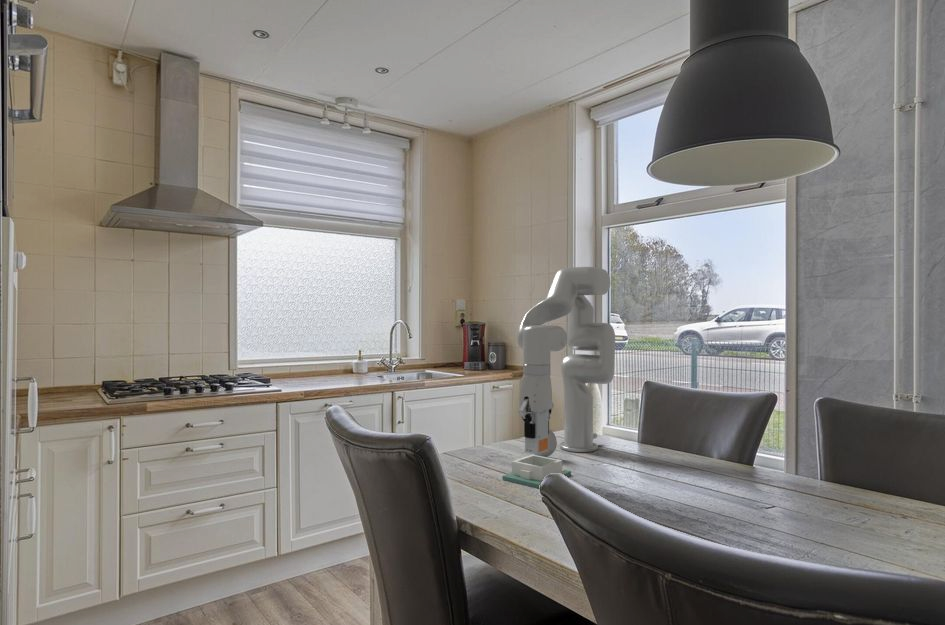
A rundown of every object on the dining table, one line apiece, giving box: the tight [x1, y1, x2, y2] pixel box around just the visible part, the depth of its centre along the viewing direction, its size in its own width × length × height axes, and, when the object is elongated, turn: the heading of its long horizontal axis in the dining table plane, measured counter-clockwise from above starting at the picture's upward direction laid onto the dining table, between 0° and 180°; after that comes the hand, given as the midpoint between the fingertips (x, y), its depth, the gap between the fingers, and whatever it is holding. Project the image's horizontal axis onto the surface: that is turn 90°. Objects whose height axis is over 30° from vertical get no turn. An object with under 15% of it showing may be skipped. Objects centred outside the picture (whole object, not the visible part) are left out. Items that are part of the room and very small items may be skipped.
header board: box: [502, 454, 572, 489], centre depth 152 cm, size 16×12×4 cm
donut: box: [533, 428, 558, 458], centre depth 173 cm, size 10×4×10 cm, turn 61°
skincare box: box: [524, 410, 548, 455], centre depth 152 cm, size 6×4×12 cm
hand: (536, 435), depth 152 cm, fingers closed on skincare box, 6 cm apart
